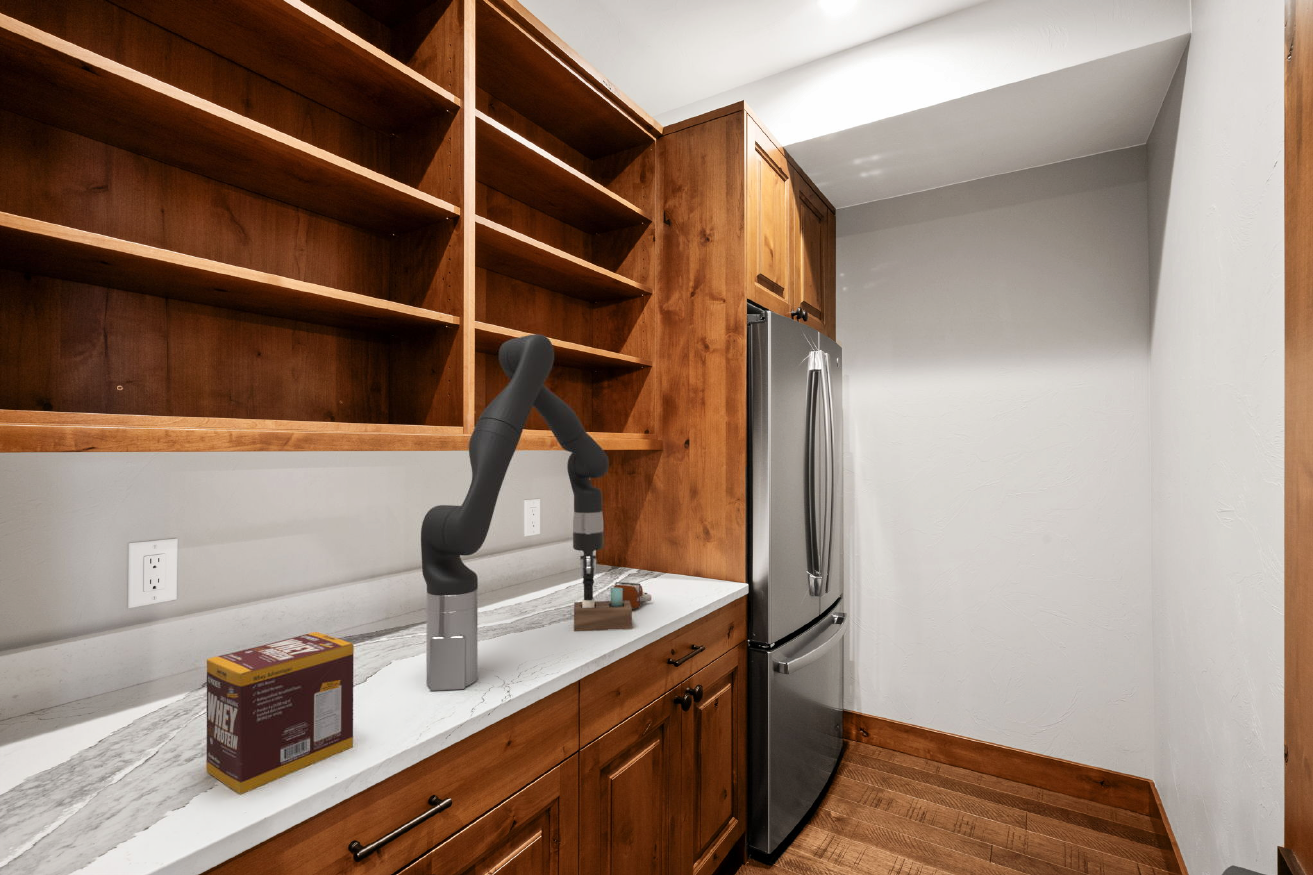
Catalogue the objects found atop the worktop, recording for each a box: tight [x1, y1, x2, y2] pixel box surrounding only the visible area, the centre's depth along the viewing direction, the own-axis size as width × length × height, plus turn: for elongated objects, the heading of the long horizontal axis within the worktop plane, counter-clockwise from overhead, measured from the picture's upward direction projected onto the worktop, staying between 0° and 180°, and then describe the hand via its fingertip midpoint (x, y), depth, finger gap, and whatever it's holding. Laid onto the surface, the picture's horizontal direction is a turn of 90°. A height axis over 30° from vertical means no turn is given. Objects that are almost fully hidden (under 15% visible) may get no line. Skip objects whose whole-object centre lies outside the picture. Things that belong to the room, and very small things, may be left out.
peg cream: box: [581, 598, 595, 608], centre depth 152 cm, size 3×3×5 cm
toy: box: [613, 581, 653, 610], centre depth 173 cm, size 9×7×15 cm
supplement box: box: [205, 631, 355, 795], centre depth 88 cm, size 10×15×16 cm
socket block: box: [573, 600, 633, 632], centre depth 153 cm, size 8×14×5 cm, turn 97°
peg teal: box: [610, 587, 623, 607], centre depth 153 cm, size 3×3×5 cm
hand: (588, 599), depth 153 cm, fingers closed
